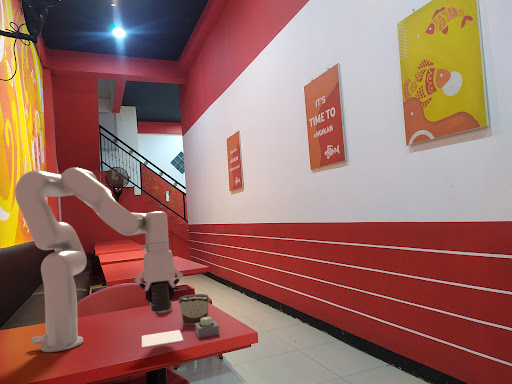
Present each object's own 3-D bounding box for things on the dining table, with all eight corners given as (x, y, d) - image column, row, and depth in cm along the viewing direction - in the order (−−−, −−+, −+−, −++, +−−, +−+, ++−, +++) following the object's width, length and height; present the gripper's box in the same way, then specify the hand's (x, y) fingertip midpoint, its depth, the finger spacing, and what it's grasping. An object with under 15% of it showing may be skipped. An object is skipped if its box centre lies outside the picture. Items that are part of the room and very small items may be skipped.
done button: (201, 329, 122) (201, 320, 122) (200, 326, 126) (199, 317, 126) (213, 328, 123) (213, 319, 123) (211, 324, 127) (210, 316, 127)
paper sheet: (141, 347, 114) (141, 347, 114) (141, 336, 125) (141, 335, 125) (183, 341, 118) (183, 340, 118) (179, 330, 129) (179, 329, 129)
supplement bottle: (162, 306, 127) (160, 271, 128) (175, 307, 123) (173, 272, 124) (146, 311, 121) (144, 275, 122) (159, 313, 117) (157, 275, 118)
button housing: (198, 338, 120) (198, 328, 120) (195, 331, 127) (195, 323, 127) (219, 334, 122) (218, 325, 122) (215, 328, 129) (214, 320, 129)
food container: (214, 318, 142) (213, 293, 142) (211, 323, 136) (209, 296, 136) (184, 320, 143) (182, 294, 144) (179, 324, 137) (177, 298, 137)
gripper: (130, 251, 117) (133, 306, 116) (184, 245, 123) (187, 299, 122) (131, 249, 125) (133, 301, 123) (182, 244, 130) (185, 294, 129)
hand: (160, 300), depth 122 cm, fingers closed on supplement bottle, 6 cm apart
